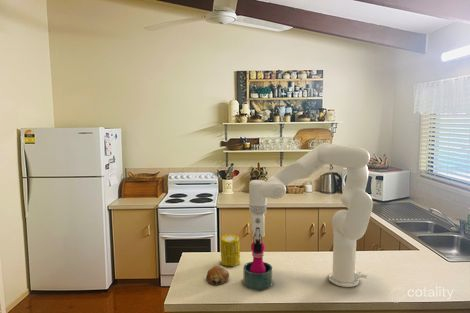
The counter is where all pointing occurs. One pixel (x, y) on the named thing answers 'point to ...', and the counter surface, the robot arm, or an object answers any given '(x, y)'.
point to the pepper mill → (257, 260)
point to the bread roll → (217, 275)
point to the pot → (257, 277)
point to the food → (230, 250)
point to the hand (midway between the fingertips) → (257, 248)
